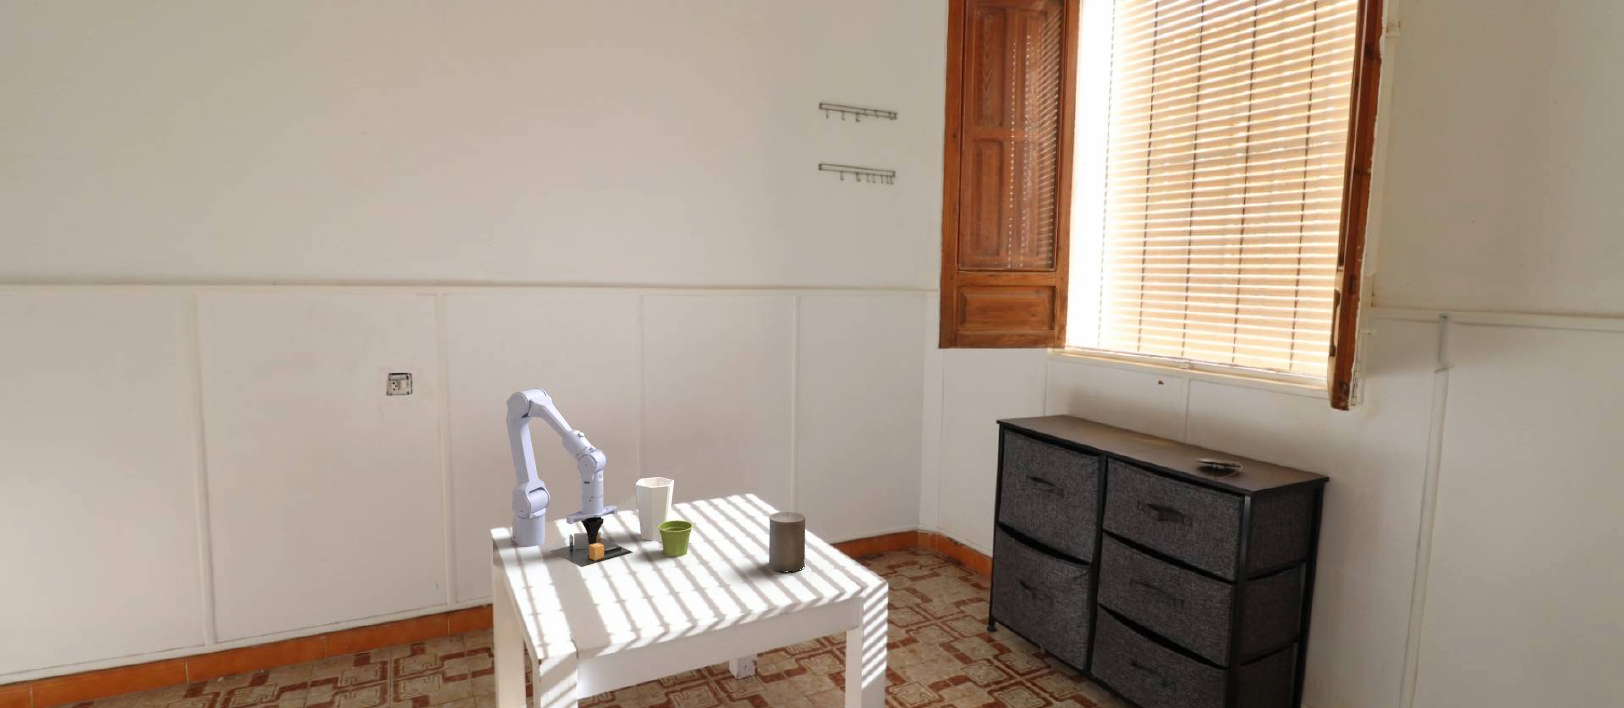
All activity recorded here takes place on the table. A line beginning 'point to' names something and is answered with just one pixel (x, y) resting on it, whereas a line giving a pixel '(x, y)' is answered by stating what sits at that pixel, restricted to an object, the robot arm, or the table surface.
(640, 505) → the cup
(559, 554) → the console
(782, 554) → the pillar candle
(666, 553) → the plant pot
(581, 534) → the gate
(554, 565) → the table surface
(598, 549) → the fader
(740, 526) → the table surface
